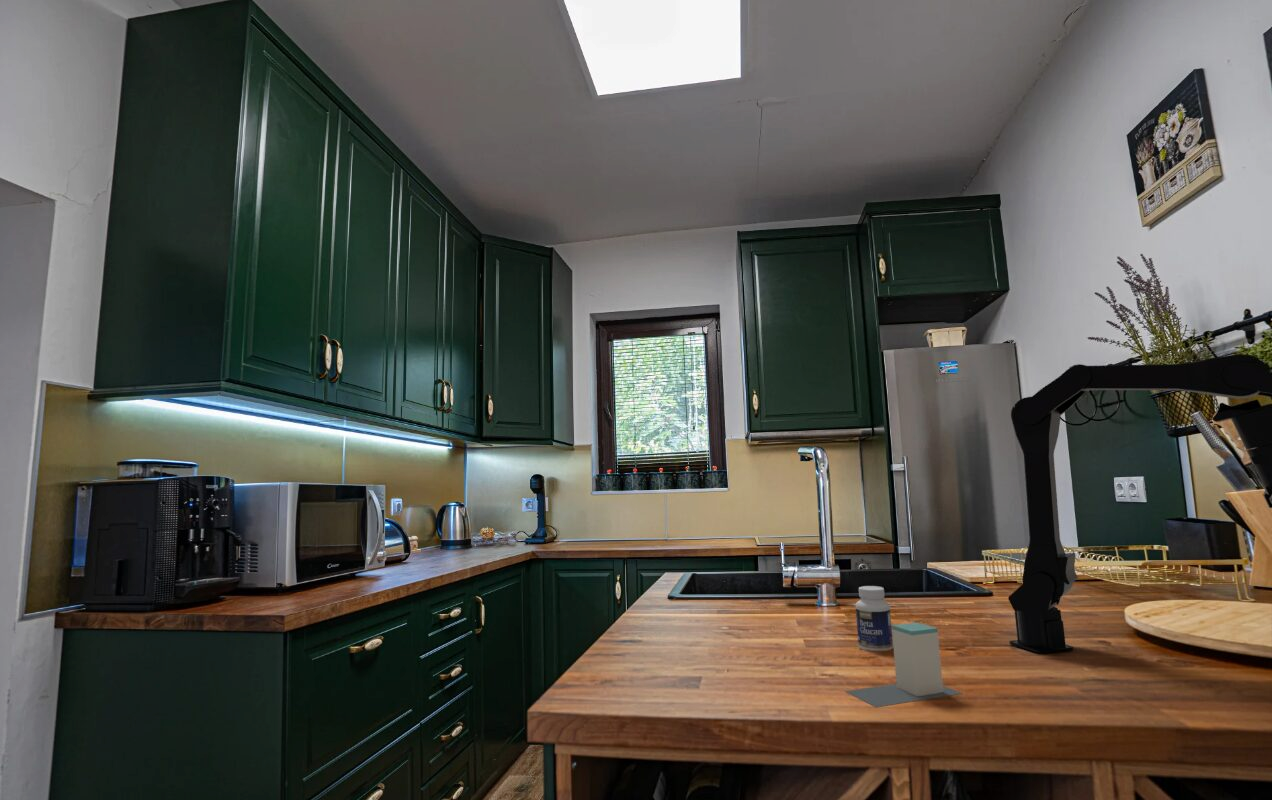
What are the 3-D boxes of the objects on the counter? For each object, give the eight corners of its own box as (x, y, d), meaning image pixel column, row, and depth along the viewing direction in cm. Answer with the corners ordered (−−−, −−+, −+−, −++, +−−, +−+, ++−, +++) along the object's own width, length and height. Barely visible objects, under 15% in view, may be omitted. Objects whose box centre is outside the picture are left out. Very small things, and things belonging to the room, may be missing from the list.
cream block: (922, 683, 89) (916, 622, 90) (943, 692, 86) (937, 628, 87) (896, 687, 88) (891, 625, 89) (917, 696, 85) (911, 631, 85)
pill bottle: (857, 651, 107) (852, 590, 109) (859, 643, 112) (855, 584, 114) (893, 653, 105) (887, 591, 107) (893, 645, 110) (888, 585, 112)
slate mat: (927, 681, 91) (926, 679, 91) (962, 695, 85) (962, 693, 85) (844, 693, 88) (844, 691, 88) (875, 709, 81) (875, 706, 81)
